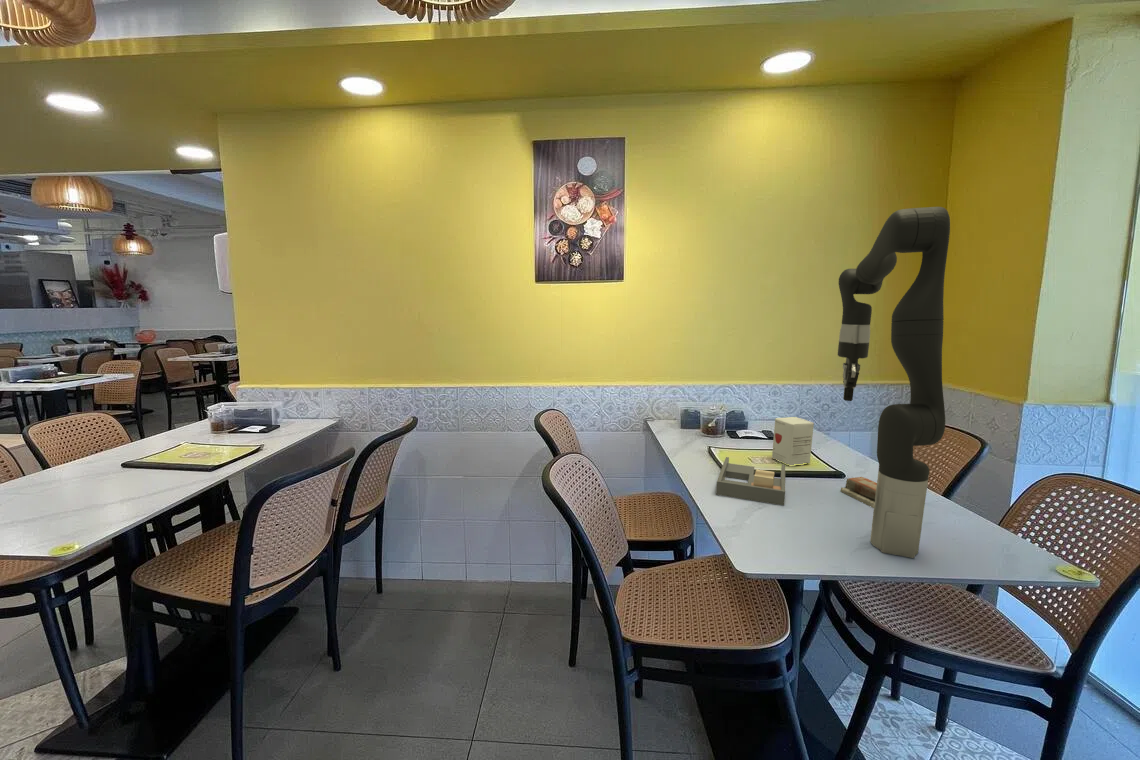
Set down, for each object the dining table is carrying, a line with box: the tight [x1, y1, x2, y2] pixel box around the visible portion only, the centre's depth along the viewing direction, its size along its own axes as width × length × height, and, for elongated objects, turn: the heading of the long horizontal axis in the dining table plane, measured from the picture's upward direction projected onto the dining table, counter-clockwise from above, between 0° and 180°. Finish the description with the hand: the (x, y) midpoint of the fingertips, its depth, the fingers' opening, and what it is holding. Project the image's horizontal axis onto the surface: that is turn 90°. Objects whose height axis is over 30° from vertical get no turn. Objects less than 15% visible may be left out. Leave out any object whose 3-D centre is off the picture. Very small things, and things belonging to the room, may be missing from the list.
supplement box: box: [771, 416, 815, 465], centre depth 168 cm, size 9×9×15 cm
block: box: [754, 468, 775, 489], centre depth 140 cm, size 6×5×4 cm
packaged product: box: [839, 476, 877, 509], centre depth 136 cm, size 18×5×10 cm
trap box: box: [715, 456, 786, 506], centre depth 147 cm, size 24×18×4 cm
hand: (847, 400), depth 141 cm, fingers closed
